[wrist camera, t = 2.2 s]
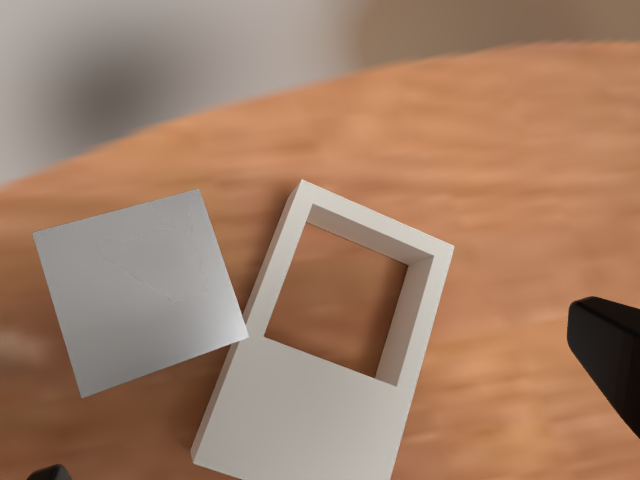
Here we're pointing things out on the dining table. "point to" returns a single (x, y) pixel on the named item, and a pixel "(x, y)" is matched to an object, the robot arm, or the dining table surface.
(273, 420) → the grey block with hole
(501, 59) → the dining table surface
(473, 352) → the dining table surface
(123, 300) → the grey long block
